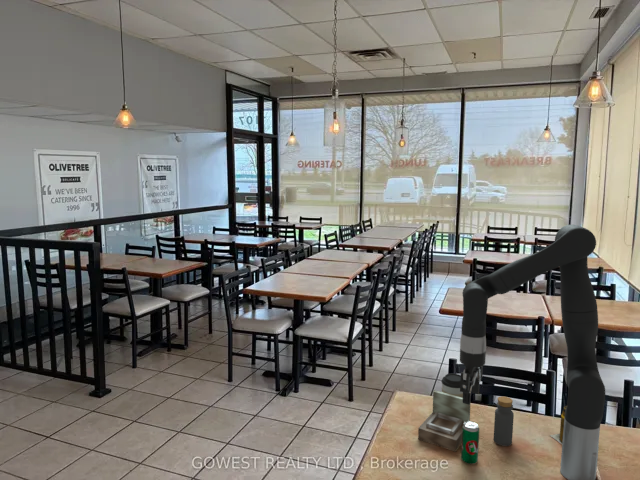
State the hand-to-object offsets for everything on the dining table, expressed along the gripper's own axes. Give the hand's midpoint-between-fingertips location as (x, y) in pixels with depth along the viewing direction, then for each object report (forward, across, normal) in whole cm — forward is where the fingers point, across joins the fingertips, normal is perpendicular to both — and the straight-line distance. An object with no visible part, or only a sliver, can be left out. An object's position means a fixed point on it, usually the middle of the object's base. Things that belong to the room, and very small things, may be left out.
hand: (470, 398), depth 147 cm
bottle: (+21, +16, -6) cm, 27 cm away
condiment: (+21, +29, -24) cm, 43 cm away
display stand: (+20, +8, +11) cm, 24 cm away
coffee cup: (+20, +24, +14) cm, 34 cm away
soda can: (+20, -1, 0) cm, 21 cm away
